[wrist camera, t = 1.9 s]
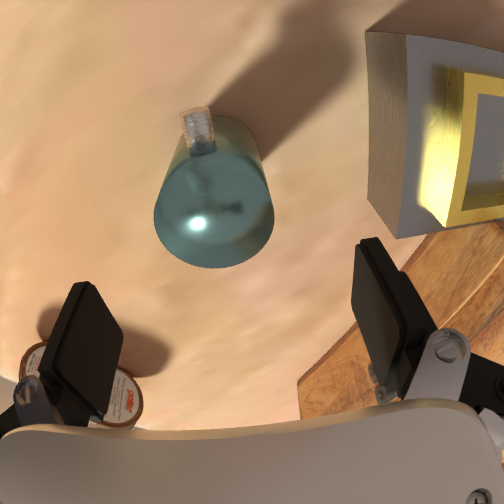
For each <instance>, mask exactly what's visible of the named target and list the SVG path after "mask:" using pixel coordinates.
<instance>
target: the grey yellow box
mask: <svg viewBox="0 0 504 504" xmlns="http://www.w3.org/2000/svg"><path fill="white" fill-rule="evenodd" d="M365 40H366V53H367V69H368V90H369V174H368V197H367V199H368V201H369V202H370V203H371V205H372V206H373V207H374V209H375V210H376V212H377V213H378V214H379V216H380V217H381V219H382V220H383V221H384V223H385V224H386V226H387V227H388V229H389V230H390V232H391V233H392V234H393V236H394V237H395V239H401V238H406V237H412V236H418V235H424V234H429V233H435V232H441V231H446V230H452V229H458V228H463V227H469V226H475V225H480V224H486V223H491V222H497V221H502V220H504V53H503V52H499V51H496V50H492V49H488V48H484V47H479V46H475V45H470V44H466V43H461V42H456V41H450V40H444V39H438V38H432V37H425V36H417V35H408V34H398V33H385V32H366V31H365Z"/></svg>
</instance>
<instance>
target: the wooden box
mask: <svg viewBox="0 0 504 504" xmlns="http://www.w3.org/2000/svg"><path fill="white" fill-rule="evenodd" d="M400 271H404V272H405V273H406V274H407V275H408V277H409V278H410V280H411V282H412V283H413V285H414V287H415V289H416V290H417V292H418V294H419V295H420V297H421V299H422V301H423V302H424V304H425V306H426V308H427V310H428V311H429V313H430V315H431V317H432V319H433V320H434V322H435V324H436V326H437V328H438V329H441V328H451V329H455V330H457V331H459V332H461V333H462V334H463V335H464V336H466V338H467V340H468V341H469V343H470V347H471V352H472V353H475V354H477V355H479V356H482V357H484V358H486V359H489V360H491V361H494V362H496V363H498V364H501V365H503V366H504V224H503V223H502V222H501V221H497V222H491V223H486V224H480V225H475V226H469V227H463V228H458V229H452V230H446V231H441V232H435V233H429V234H428V235H427V236H426V237H425V239H424V240H423V242H422V243H421V244H420V245H419V247H418V248H417V249H416V251H415V252H414V253H413V254H412V256H411V257H410V258H409V260H408V261H407V262H406V263H405V265H404V266H403V267H402V268H401V270H400ZM400 271H399V272H400ZM297 390H298V400H299V410H300V419H301V420H303V419H309V418H315V417H320V416H326V415H332V414H337V413H342V412H347V411H352V410H357V409H361V408H366V407H370V406H375V405H380V404H385V403H390V402H394V401H400V399H401V398H398V396H397V393H396V392H392V393H389V394H387V392H386V389H385V386H383V387H380V385H379V383H378V380H377V377H376V374H375V371H374V368H373V365H372V362H371V360H370V357H369V354H368V351H367V348H366V345H365V342H364V340H363V337H362V334H361V331H360V329H359V326H358V323H357V321H356V322H355V323H354V325H353V326H352V327H351V328H350V330H349V331H348V332H347V333H346V334H345V335H344V336H343V337H342V338H340V339H339V340H338V341H337V343H336V344H335V345H334V346H333V347H332V348H331V349H330V350H329V351H328V352H327V353H326V354H325V355H324V356H323V357H322V358H321V359H320V360H319V361H318V362H317V363H316V364H315V365H314V366H313V367H312V368H310V369H309V370H308V371H307V372H306V373H305V374H304V375H303V376H302V377H301V378H300V379H299V380H298V383H297Z"/></svg>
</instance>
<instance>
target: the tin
mask: <svg viewBox="0 0 504 504" xmlns="http://www.w3.org/2000/svg"><path fill="white" fill-rule="evenodd" d="M47 343H48V341H46V342H40V343H37V344H35V345H33V346H31V347H30V348H29V349H28V350H27V351H26V353H25V354H24V356H23V357H22V360H21V363H20V370H19V381H20V380H21V379H22V378H24V377H26V376H28V375H35V376H37V377H38V378H39V376H40V373H39V372H38V371H37V369H38V366H39V363H40V361H41V358H42V355H43V353H44V350H45V348H46V345H47ZM142 411H143V396H142V392H141V390H140V388H139V386H138V384H137V383H136V381H135V380H134V379H133V378H132V377H131V376H130V375H129V374H128V373H127V372H125V371H124V370H122V369H120V368H118V367H117V369H116V373H115V378H114V383H113V387H112V392H111V397H110V402H109V407H108V412H107V414H106V415H104V419H103V422H94V421H90V420H89V424H88V425H89V427H91V428H104V429H120V430H130V429H131V428H133V426H134V425H135V424H136V422H137V421H138V419H139V418H140V416H141V414H142Z"/></svg>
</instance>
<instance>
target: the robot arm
mask: <svg viewBox="0 0 504 504" xmlns="http://www.w3.org/2000/svg"><path fill="white" fill-rule="evenodd" d="M351 305H352V310H353V312H354V315H355V318H356V320H357V323H358V326H359V329H360V331H361V334H362V337H363V340H364V342H365V345H366V348H367V351H368V354H369V357H370V360H371V362H372V365H373V368H374V371H375V374H376V377H377V380H378V383H379V385H380V387H383V386H385V389H386V392H387V394H389V393H392V392H396V393H397V396H398V398H401V399H400V401H394V402H390V403H385V404H380V405H375V406H370V407H366V408H361V409H357V410H352V411H347V412H342V413H337V414H332V415H326V416H320V417H315V418H309V419H303V420H297V421H290V422H283V423H275V424H267V425H258V426H249V427H238V428H225V429H209V430H181V431H148V430H120V429H104V428H91V427H89V425H88V424H89V420H90V421H94V422H103V419H104V415H106V414H107V412H108V407H109V402H110V397H111V392H112V387H113V383H114V378H115V373H116V369H117V364H118V360H119V356H120V352H121V347H122V343H123V332H122V330H121V329H120V327H119V326H118V324H117V322H116V321H115V319H114V317H113V316H112V314H111V312H110V311H109V309H108V307H107V306H106V304H105V302H104V301H103V299H102V297H101V296H100V294H99V292H98V290H97V288H96V287H95V285H93V284H91V283H90V282H89V281H84V282H78V283H74V284H73V286H72V288H71V290H70V292H69V294H68V296H67V299H66V301H65V303H64V305H63V307H62V310H61V312H60V314H59V316H58V319H57V321H56V323H55V326H54V328H53V330H52V333H51V335H50V338H49V340H48V343H47V345H46V348H45V350H44V353H43V355H42V358H41V361H40V363H39V366H38V369H37V371H38V372H39V373H40V376H39V378H38V377H37V376H35V375H28V376H26V377H24V378H22V379H21V380H20V381H19V382H18V384H17V385H16V387H15V390H14V393H13V400H14V404H13V405H12V406H11V407H9V408H8V409H7V410H6V411H5V412H3V413H2V414H1V415H0V504H504V366H503V365H501V364H498V363H496V362H494V361H491V360H489V359H486V358H484V357H482V356H479V355H477V354H475V353H472V352H471V347H470V343H469V341H468V340H467V338H466V336H464V335H463V334H462V333H461V332H459V331H457V330H455V329H451V328H441V329H438V328H437V326H436V324H435V322H434V320H433V319H432V317H431V315H430V313H429V311H428V310H427V308H426V306H425V304H424V302H423V301H422V299H421V297H420V295H419V294H418V292H417V290H416V289H415V287H414V285H413V283H412V282H411V280H410V278H409V277H408V275H407V274H406V273H405V272H404V271H400V272H399V271H398V269H397V267H396V266H395V264H394V262H393V261H392V259H391V258H390V256H389V254H388V253H387V251H386V249H385V248H384V246H383V245H382V243H381V241H380V240H379V239H378V237H373V238H367V239H362V240H361V241H360V244H357V245H356V246H355V260H354V273H353V285H352V296H351ZM491 437H492V438H493V439H494V440H492V438H491ZM493 442H494V443H495V444H496V445H497V446H498V447H499V449H500V450H501V451H502V456H503V459H502V464H501V461H500V458H499V455H498V453H497V450H496V448H495V445H494V443H493Z"/></svg>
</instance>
